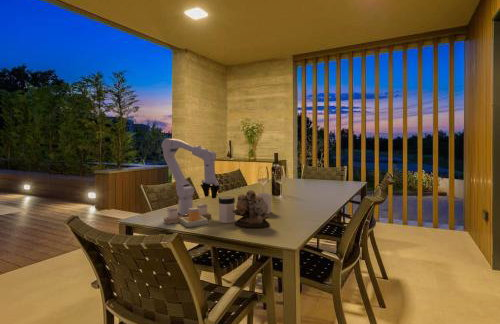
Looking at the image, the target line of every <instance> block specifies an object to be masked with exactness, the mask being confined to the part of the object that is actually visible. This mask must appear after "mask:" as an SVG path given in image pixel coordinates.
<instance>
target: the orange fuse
mask: <svg viewBox="0 0 500 324" xmlns="http://www.w3.org/2000/svg"><path fill="white" fill-rule="evenodd" d="M188 214H189V222H190V221H197V220H199V209H198V208H197V207H193V208H188Z"/></svg>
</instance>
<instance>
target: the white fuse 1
mask: <svg viewBox="0 0 500 324" xmlns="http://www.w3.org/2000/svg"><path fill="white" fill-rule="evenodd" d="M177 211H178V207H175V206H174V207H167V217H168V220H172V219H178V216H179V215H178V214H179V213H178V212H177Z"/></svg>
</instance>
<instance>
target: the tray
mask: <svg viewBox="0 0 500 324" xmlns="http://www.w3.org/2000/svg"><path fill="white" fill-rule="evenodd" d="M180 222H181V223H182V224H181V223H180V224H181V225H183V226H184V225H185V226H184V227H186V228H187V227H188V228H192V227H193V226H194V227H198V226H205V225H209V219H207V218H205V217H203V216H201V215H199V220H197V221H190V222H189V217H184V218H180ZM194 227H193V228H194Z"/></svg>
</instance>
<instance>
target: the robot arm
mask: <svg viewBox="0 0 500 324" xmlns="http://www.w3.org/2000/svg"><path fill="white" fill-rule="evenodd" d="M180 148H181V149H183V150H186V151H188V152H191V154H192V155H193V156H194V157H196V158H199V159H202V161H203V167H204V168H203V169H204V172H203V173H204V179H201V183H200V187H201V189H202V192H203V194H204V197H205V198H206V197H209V196H210V193H211V199H217V196H218V195H217V194H218V191H219V190H220V187H221V185H220V184H219V183H220V182H219V181H217V180H216V169H215V168H216V166H215V165H216V162H215V160H216V159H217V153H216V152H215V151H214V150H209V148H204V147H202V145H199V144H198V145H195V146H193V145H191V144H189V143H187V142H185V141H183V140H181V139H178V138H164V139H163V140H162V143H161V149H162V152H163V158H164V161H165V162H166V164H167V167H168V169H169V171H170V173H171V175H172V178H173V179H174V181H175V183H176V184H175V190H176V195H177V197H178V204H177V205H178V207H177V208H178V210H177V212H178V214H179V215H185V214H188V208H194V205H193V202H194V200H193V196H194V194H195V190H196V189H195V187H194V186H192V185H191V183H190V182H189V180H186V178H185V175H184V173H183V171H182V170H181V167H180V165H179V164H178V161H177V159H176V158H175V154H176V153H177V152H178V151H179V149H180Z"/></svg>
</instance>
